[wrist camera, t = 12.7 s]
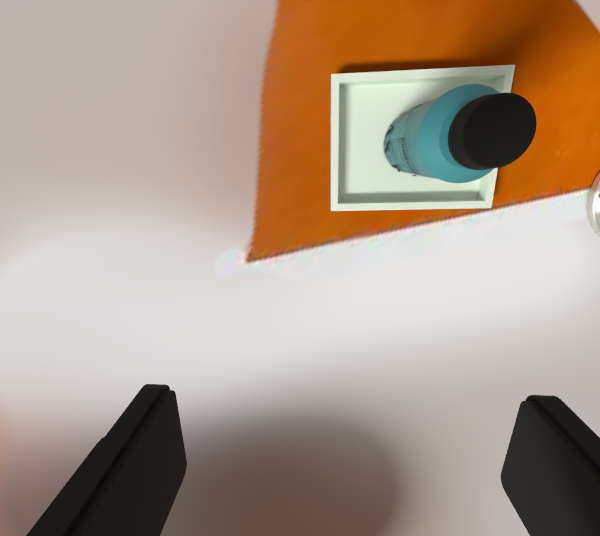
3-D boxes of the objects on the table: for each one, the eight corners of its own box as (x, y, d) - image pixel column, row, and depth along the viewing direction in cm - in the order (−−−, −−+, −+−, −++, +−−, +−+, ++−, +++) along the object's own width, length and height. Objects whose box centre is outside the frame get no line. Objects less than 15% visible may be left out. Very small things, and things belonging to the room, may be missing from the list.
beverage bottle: (411, 98, 34) (516, 25, 15) (450, 143, 35) (593, 126, 17) (366, 145, 36) (412, 132, 17) (405, 186, 37) (488, 216, 18)
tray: (501, 71, 33) (515, 64, 31) (480, 204, 38) (491, 207, 36) (330, 79, 35) (331, 74, 32) (330, 207, 39) (331, 210, 37)
